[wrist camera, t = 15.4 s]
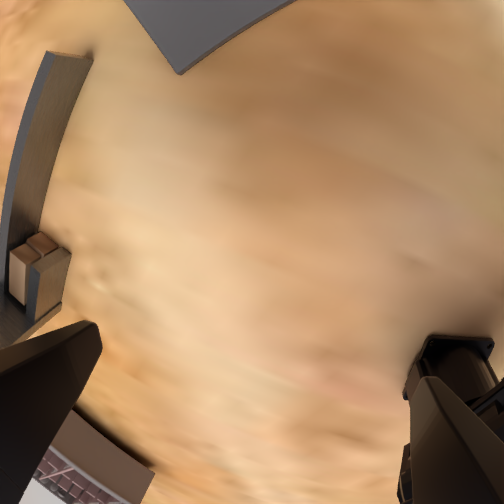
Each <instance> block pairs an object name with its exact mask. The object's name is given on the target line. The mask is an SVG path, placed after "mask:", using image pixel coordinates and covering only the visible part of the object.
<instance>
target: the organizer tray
mask: <svg viewBox="0 0 504 504" xmlns="http://www.w3.org/2000/svg"><path fill="white" fill-rule="evenodd" d="M154 475H155V473H154V472H152V471H151V470H149V469H148V468H146V467H145V466H143V465H142V464H140V463H139V462H137V461H136V460H135V459H133V458H132V457H130V456H129V455H128V454H126V453H125V452H123V451H122V450H121V449H119V448H118V447H117V446H115V445H114V444H113V443H112V442H110V441H109V440H108V439H106V438H105V437H104V436H103V435H101V434H100V433H99V432H98V431H96V430H95V429H94V428H93V427H92V426H90V425H89V424H88V423H87V422H86V421H84V420H83V419H82V418H81V417H80V416H79V415H78V414H76V413H75V412H74V411H73V410H72V409H71V411H70V412H69V414H68V416H67V417H66V419H65V421H64V422H63V424H62V426H61V427H60V429H59V431H58V433H57V434H56V436H55V438H54V439H53V441H52V443H51V445H50V446H49V448H48V450H47V452H46V453H45V455H44V457H43V459H42V460H41V462H40V464H39V466H38V468H37V469H36V471H35V473H34V475H33V477H32V478H34V479H35V480H36V481H37V482H38V483H40V484H41V485H42V486H44V487H45V488H46V489H47V490H49V491H50V492H51V493H53V494H54V495H55V496H57V497H58V498H59V499H61V500H62V501H63V502H65V503H66V504H140V503H141V501H142V499H143V497H144V495H145V493H146V491H147V489H148V487H149V485H150V483H151V481H152V479H153V477H154Z"/></svg>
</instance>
